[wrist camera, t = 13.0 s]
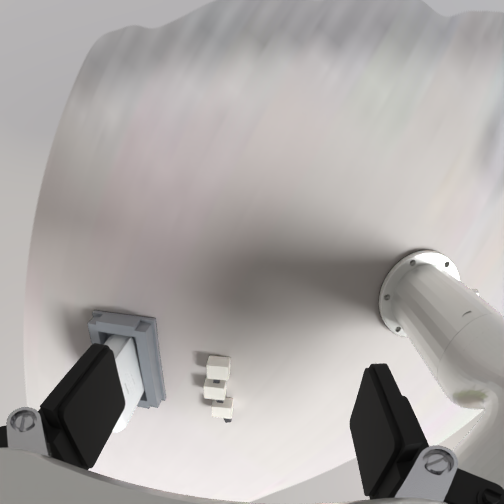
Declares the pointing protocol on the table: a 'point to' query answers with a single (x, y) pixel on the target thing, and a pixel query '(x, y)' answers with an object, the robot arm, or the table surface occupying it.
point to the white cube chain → (218, 387)
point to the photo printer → (127, 375)
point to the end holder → (146, 346)
